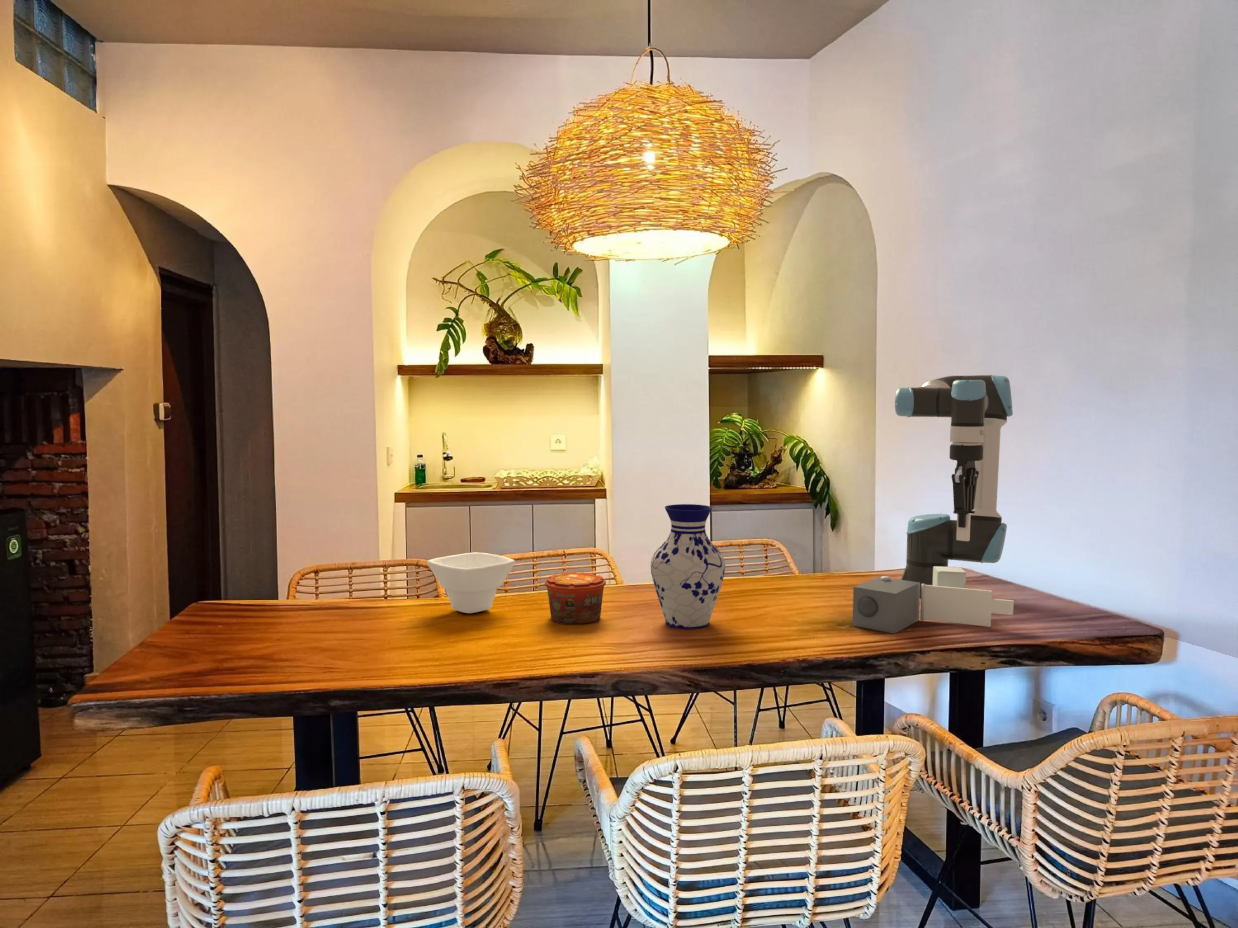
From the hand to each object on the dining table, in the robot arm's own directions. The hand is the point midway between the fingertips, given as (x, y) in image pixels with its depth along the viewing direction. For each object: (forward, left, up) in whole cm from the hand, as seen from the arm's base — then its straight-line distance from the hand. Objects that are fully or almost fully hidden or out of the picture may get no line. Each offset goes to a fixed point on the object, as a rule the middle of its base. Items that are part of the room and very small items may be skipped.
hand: (962, 540), depth 210 cm
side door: (-9, -1, -23) cm, 25 cm away
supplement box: (-16, -8, -24) cm, 29 cm away
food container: (+51, -81, -24) cm, 99 cm away
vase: (+36, -56, -24) cm, 71 cm away
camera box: (+2, -18, -23) cm, 29 cm away
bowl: (+64, -107, -24) cm, 127 cm away
